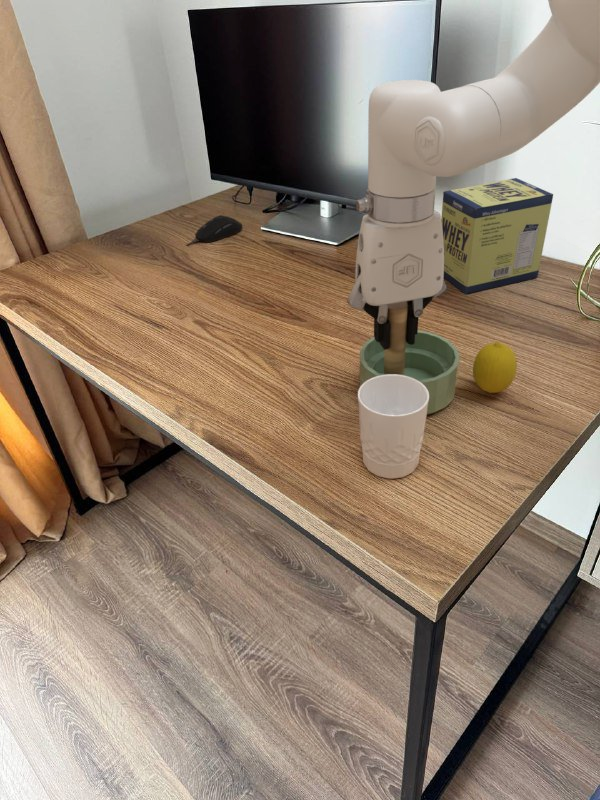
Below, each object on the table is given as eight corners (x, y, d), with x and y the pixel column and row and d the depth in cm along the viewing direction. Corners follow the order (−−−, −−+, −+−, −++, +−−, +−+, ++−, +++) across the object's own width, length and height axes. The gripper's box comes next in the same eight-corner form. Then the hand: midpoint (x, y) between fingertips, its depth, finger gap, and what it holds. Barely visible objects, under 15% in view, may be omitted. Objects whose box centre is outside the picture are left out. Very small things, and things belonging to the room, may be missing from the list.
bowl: (430, 357, 89) (433, 322, 85) (472, 408, 78) (477, 370, 75) (347, 374, 87) (347, 339, 83) (379, 428, 76) (380, 391, 73)
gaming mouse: (179, 242, 133) (176, 225, 130) (232, 224, 140) (230, 207, 138) (194, 249, 129) (191, 232, 126) (248, 230, 136) (246, 213, 134)
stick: (399, 374, 83) (402, 297, 76) (406, 385, 81) (411, 307, 74) (380, 377, 83) (382, 301, 75) (387, 388, 80) (390, 311, 73)
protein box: (435, 272, 112) (441, 190, 103) (505, 257, 116) (517, 176, 106) (465, 295, 104) (475, 208, 95) (539, 278, 108) (556, 192, 98)
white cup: (428, 444, 73) (434, 379, 67) (417, 488, 67) (422, 421, 61) (366, 434, 75) (367, 369, 69) (350, 475, 69) (349, 409, 64)
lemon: (516, 387, 81) (526, 337, 77) (504, 409, 78) (513, 358, 73) (477, 377, 84) (484, 328, 79) (463, 397, 80) (470, 347, 75)
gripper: (342, 225, 63) (345, 368, 74) (482, 204, 65) (464, 345, 76) (323, 204, 69) (328, 339, 80) (452, 185, 71) (440, 318, 82)
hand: (395, 340), depth 78 cm, fingers closed on stick, 2 cm apart
